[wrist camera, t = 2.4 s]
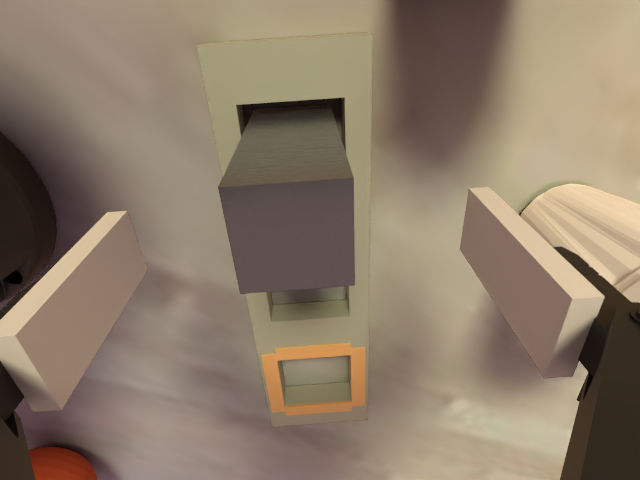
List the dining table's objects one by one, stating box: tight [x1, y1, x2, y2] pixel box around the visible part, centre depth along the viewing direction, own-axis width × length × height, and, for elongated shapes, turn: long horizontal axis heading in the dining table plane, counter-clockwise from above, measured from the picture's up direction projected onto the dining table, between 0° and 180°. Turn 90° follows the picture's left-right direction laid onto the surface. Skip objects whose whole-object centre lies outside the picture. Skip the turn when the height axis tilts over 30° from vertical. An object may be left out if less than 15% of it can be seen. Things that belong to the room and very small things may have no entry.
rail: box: [197, 32, 372, 427], centre depth 29 cm, size 9×32×2 cm, turn 3°
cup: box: [520, 184, 640, 303], centre depth 23 cm, size 10×10×13 cm
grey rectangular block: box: [218, 104, 355, 294], centre depth 19 cm, size 5×5×12 cm
